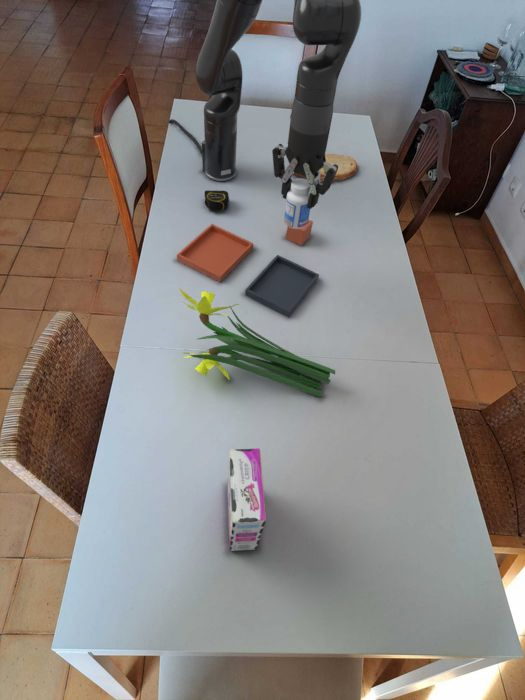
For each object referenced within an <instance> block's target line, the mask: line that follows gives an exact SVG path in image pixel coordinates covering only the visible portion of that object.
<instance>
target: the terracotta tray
mask: <svg viewBox="0 0 525 700" xmlns="http://www.w3.org/2000/svg"><path fill="white" fill-rule="evenodd" d="M253 249H254V242H251V241H249V240H247V239H246V238H244V237H241V236H239V235H236V234H234V233H232V232H230V231H229V230H226V229H223V228H222V227H220V226H218V225H216V224H213V223H211V224H210V225H209V226H207V228H205V229H204V230H203V231H202V232H200V234H199V235H198V236H197V237H195V238H194V239H193V240H191V242H190V243H188V244H187V245H186V246H185V247H184V248H183V249H181V250H180V251H179V252H178V253H177V254H176V260H177V262H179V263H181V264H183V265H185V266H187V267H189V268H191V269H193V270H195V271H197V272H199V273H200V274H202V275H204V276H206V277H208V278H210V279H212V280H214V281H216V282H218V283H221V282H223V280H224V279H225V278H227V276H228V275H229V274H230V273H231V272H232V271H233V270H234V269H235V268H237V266H238V265H239V264H240V263H241V262H242V261H243V260H244V259H245V258H246V257H247V256H248V255H249V254H250V253H251V252H252V251H253Z"/></svg>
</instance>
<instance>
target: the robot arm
mask: <svg viewBox="0 0 525 700" xmlns="http://www.w3.org/2000/svg"><path fill="white" fill-rule="evenodd" d="M262 4H263V0H216V2H215V7H214V11H213V13H212V17H211V20H210V24H209V27H208V31H207V33H206V36H205V39H204V40H203V44H202V46H201V49H200V52H199V54H198V56H197V61H196V66H195V79H196V83H197V86H198V89H199V90H200V91H201V92H202V93H203V94H204V95H207V96H212V97H211V98H209V99H208V100H207V101H206V102H205V104H204V106H203V131H204V140H203V141H202V142H201V145H200V143H199V142H198V140H197V139H196V138H195V137H194V136H193V135H192V134H191V133H190V132H189V131H187V129H185V127H183V125H181V124H180V123H179V122H178V121H177V120H176V119H174V118H173V119H169V120H168V123H169V124H175V125H176V126H177V127H178V128H179V129H180V130H181V131H182V132H183V133H184V134H185V135H186V136H187V137H189V139H191V141H192V142H193V143H194V145H195V146H196V148H197V149H198V151H199V153H200V155H201V156H202V157H201V160H202V161H201V164H202V173H204V174H205V176H206V177H207V178H208V179H210V180H211V181H216V182H228V181H231V180H232V179H233V178H235V177H236V174H237V168H236V166H237V141H238V139H237V137H238V113H239V111H240V109H241V100H242V90H243V66H242V61H241V59H240V56H239V55H238V53H237V52H236V51H235V50H233V48H234V47H235V46H236V44H237V43H238V42H239V41H240V40H241V39H242V38H243V37H244V35H245V34H246V33H247V32H248V31H249V30H250V28H251V27H252V25H253V24H254V22H255V20H256V19H257V16H258V14H259V12H260V8H261V6H262ZM361 21H362V6H361V1H360V0H293V13H292V30H293V33H294V36H295V38H296V39H297V40H298V41H299V42H300V43H301V44H303V45H306V46H325V47H324V48H323V49H322V50H321V51H320V52H318V53H315V54H313V55H310V56H307V57H305V58H303V59H301V61H300V62H299V64H298V66H297V67H298V68H297V74H296V83H295V91H294V97H293V102H292V106H291V112H290V116H289V118H290V121H289V130H288V137H287V146H284V145H283V144H282V143H278V145H276V146H275V147H274V148H272V150H271V151H272V164H273V175H274V177H276V178H279V179H280V180H281V190H280V193H281V195H282V199H285V200H286V198H287V193H288V191H289V190H290V189H291V183H292V181H293V179H292V177H293V175H294V173H297V174H301V175H303V176H304V177H307V179H306V180H307V182H308V184H309V185H310V192H311V193H310V196H309V201H308V208H309V209H310V210H311V209H313V208H315V206H317V204H318V202H319V197H320V195H321V196H324V195H325V194H326V193H327V192H329V190H330V188H331V186H332V184H333V182H334V181H333V179H334V177H335V175H336V173H337V170H338V165H336V164H334V165H333V166H332V165H331V164H329V163H327V162H326V158H325V154H326V152H327V146H328V142H329V137H330V131H331V125H332V120H333V116H334V115H333V114H334V104H335V103H334V102H335V97H336V91H337V86H338V81H339V76H340V74H341V71H342V69H343V66H344V65H345V62H346V59H347V57H348V55H349V53H350V52H351V49H352V46H353V45H354V42H355V40H356V37H357V35H358V32H359V29H360V26H361ZM285 157H286V159H287V161H288V166H287V168H286V166H285V165H286V164H285ZM321 168H323V169H324V176H325V179H324V181H323V182H320V169H321Z"/></svg>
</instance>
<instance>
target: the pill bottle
mask: <svg viewBox="0 0 525 700" xmlns="http://www.w3.org/2000/svg"><path fill="white" fill-rule="evenodd" d="M310 193H311V190H310V185H309V184H308V182H307V179H306V178H303V177H298V178H294V179H292V183H291V189H290V190H289V191H288V193H287V198H286V199H285V209H284V217H283V219H284V220H283V221H284V223H285V225H286V226H287V227H290V228H293V229H302V228H304V227H306V226H307V224H308V220H310V213H311V209H309V208H308V201H309V196H310Z"/></svg>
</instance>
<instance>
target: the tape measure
mask: <svg viewBox="0 0 525 700" xmlns="http://www.w3.org/2000/svg"><path fill="white" fill-rule="evenodd" d="M229 204H230V197H229V192H228V191H227V190H205V191H204V205H205V206H206V208H207V209H208V210H209V211H213V212H223V211H224V210H226V209H228V207H229Z"/></svg>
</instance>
